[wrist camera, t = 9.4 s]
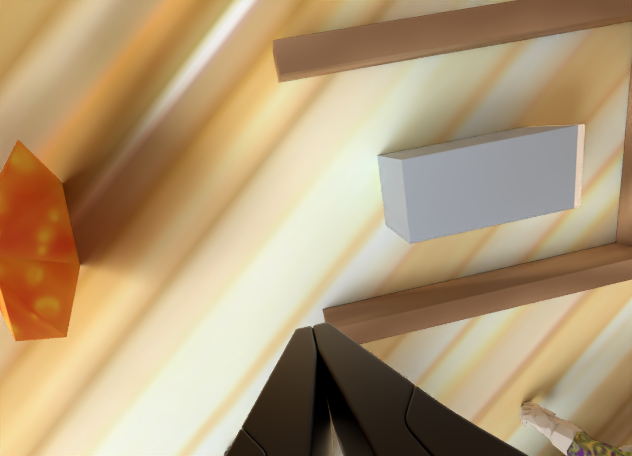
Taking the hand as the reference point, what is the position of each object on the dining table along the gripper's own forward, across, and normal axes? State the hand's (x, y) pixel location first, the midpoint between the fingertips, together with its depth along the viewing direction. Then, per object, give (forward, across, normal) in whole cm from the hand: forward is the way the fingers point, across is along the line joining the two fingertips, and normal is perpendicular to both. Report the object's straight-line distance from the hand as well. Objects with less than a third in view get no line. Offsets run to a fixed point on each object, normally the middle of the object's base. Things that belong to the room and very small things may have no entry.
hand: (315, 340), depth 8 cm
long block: (+11, -6, -1) cm, 13 cm away
